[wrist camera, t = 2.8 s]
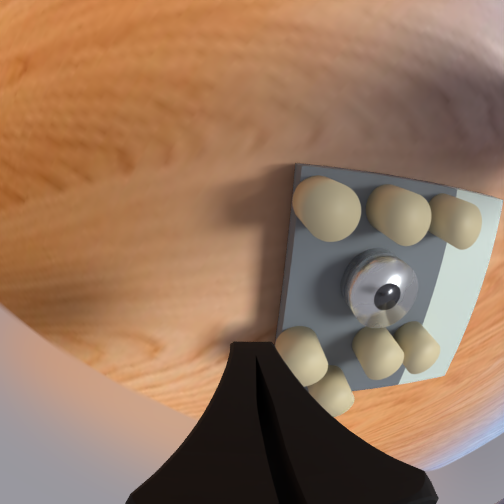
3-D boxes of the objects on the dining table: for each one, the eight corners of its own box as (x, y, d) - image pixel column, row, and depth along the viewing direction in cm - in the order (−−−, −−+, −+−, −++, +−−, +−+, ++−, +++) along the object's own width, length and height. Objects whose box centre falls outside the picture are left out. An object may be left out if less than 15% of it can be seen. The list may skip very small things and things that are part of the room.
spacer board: (489, 195, 17) (527, 209, 14) (436, 365, 23) (458, 394, 19) (289, 162, 16) (308, 170, 12) (265, 382, 21) (271, 423, 17)
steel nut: (408, 249, 17) (426, 262, 15) (392, 309, 18) (407, 326, 16) (347, 246, 16) (362, 261, 14) (334, 311, 18) (346, 330, 16)
